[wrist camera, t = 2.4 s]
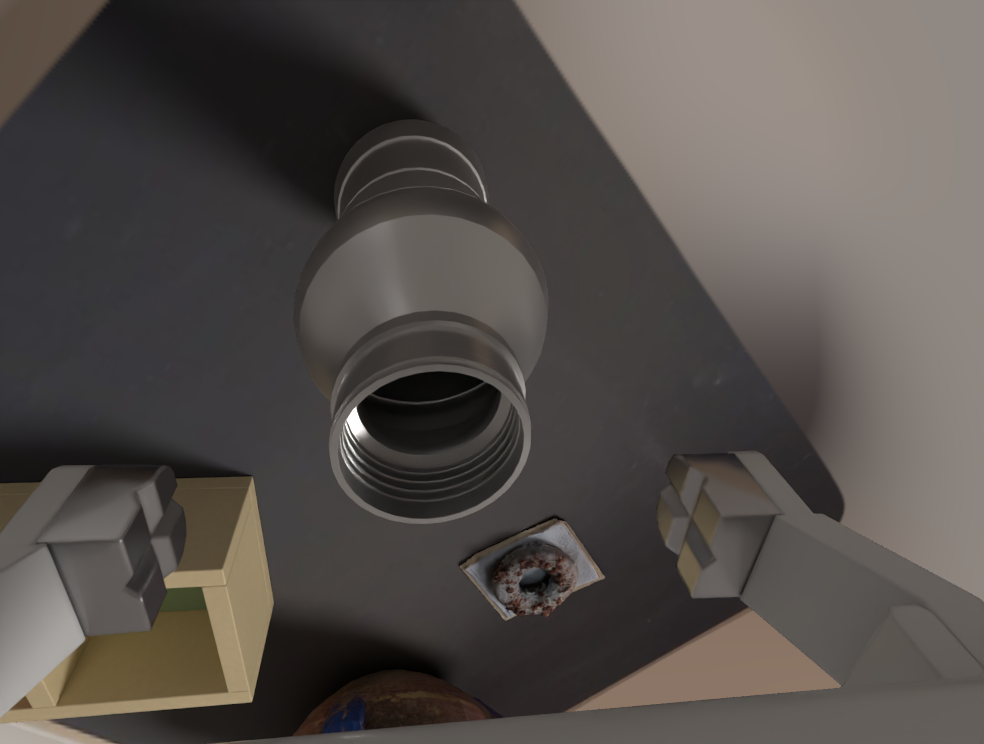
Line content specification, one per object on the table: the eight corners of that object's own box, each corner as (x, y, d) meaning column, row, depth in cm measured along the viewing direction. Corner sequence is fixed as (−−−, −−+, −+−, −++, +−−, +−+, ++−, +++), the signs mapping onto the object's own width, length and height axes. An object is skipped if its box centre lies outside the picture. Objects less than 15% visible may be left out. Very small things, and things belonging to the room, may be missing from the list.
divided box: (-169, 487, 31) (-303, 596, 25) (253, 476, 35) (222, 569, 29) (-82, 624, 37) (-173, 738, 31) (274, 602, 40) (252, 702, 35)
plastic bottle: (308, 182, 27) (150, 461, 10) (416, 75, 25) (451, 185, 8) (407, 279, 30) (418, 621, 13) (509, 189, 28) (677, 443, 11)
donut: (563, 512, 40) (570, 535, 38) (603, 576, 44) (611, 599, 42) (456, 562, 41) (458, 586, 39) (504, 620, 45) (508, 644, 43)
